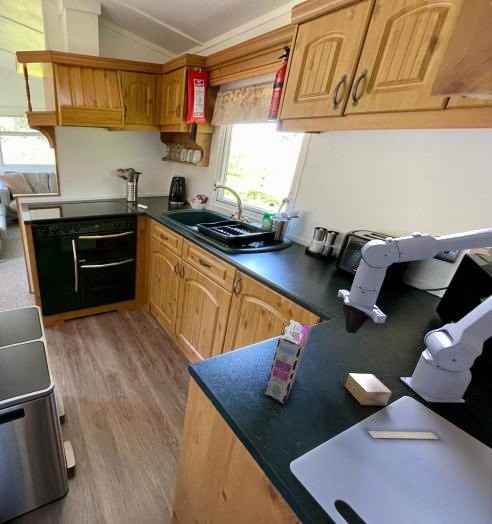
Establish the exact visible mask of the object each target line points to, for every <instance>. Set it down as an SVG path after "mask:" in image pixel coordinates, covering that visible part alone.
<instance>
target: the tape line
mask: <svg viewBox="0 0 492 524" xmlns="http://www.w3.org/2000/svg"><path fill="white" fill-rule="evenodd" d="M367 433H368V434H369V435H370V436H371V437H372V438H373V439H411V440H416V439H418V440H439V437H437V435H435V434H434V433H433V432H429V431H428V432H426V431H425V432H424V431H386V430H385V431H383V430H382V431H381V430H380V431H379V430H368V431H367Z"/></svg>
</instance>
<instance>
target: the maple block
mask: <svg viewBox="0 0 492 524" xmlns="http://www.w3.org/2000/svg"><path fill="white" fill-rule="evenodd" d="M344 387H345V388H346V389H347V390H348V391H349V393H350V394H351V395H352V396H353V397H354V399H356V400H357V402H358V403H359V404H360V405H361V406H387V404H388V403H389V400H390V398H391V396H392V393H393V392H392V391H391V390H390V388H388V387H387V386H386V385H384V383H383V382H382V381H381V380H380V379H378V378H377V377H376V376H375V375H374V374H373V373H348V375H347V378H346V381H345V384H344Z"/></svg>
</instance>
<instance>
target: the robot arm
mask: <svg viewBox="0 0 492 524" xmlns="http://www.w3.org/2000/svg"><path fill="white" fill-rule="evenodd" d="M485 248H492V227H487V228H481V229H476V230H471V231H465V232H459V233H455V234H454V233H453V234H448V235H444V236H439V237H434V236H432V235H430V234H428V233H424V234H421V233H420V232H412V233H411V236H405V237H404V236H403V237H399V238H392V237H386V238H385V241H383V240H380V239H374V240H370V241H368V242H367V243H365V244H364V245H363V246H362V247H361V249H360V254H361V256H362V257H361V258H360V259H361V260H360V261H359V263H358V264H359V265H358V267H357V269H356V272H355V275H354V277H353V278H354V279H353V282H352V285H351V288H350V291H348V290H347V289H346V290H345V289H339V290H338V293H337V297H338V298H342V299H343V303H344V304H343V305H342V310H343V313H344V317H345V331H346V332H347V333H348V334H357V332H358V331H359V330H360V329H361V328H362V326H363V325H364V324H366V323H367V322H368V321H369V320H371V319H373V322H374V323H376V324H385V321H386V319H387V315H386V314H384V313H383V312H382V311H381V310H380V309H379V307H378V306H377V305H376V302H377V300H378V299H377V298H378V296H379V293H380V291H381V288H382V285H383V282H384V279H385V277H386V272H387V269H388V267H389V266H391V265H392V264H393V263H396V264H397V263H405V262H412V261H421V260H430V259H433V258H434V257H436V256H437V254H439V253H442V252H454V251H464V250H474V249H485ZM490 337H492V295H490V296H489V297H488V298H486V299H485V300H484V301H483V302H482V303H480V304H479V305H477V306H476V307H475V308H474V309H473V310H471V311H470V312H469V313H467V314H466V315H465V316H464V317H462V318H461V319H459V321H457V322H454V323H446V324H444V325H443V326H442V327H440V328H438V329H434V330H431V331H429V332H427V333H426V335H425V336H424V341H423V342H424V344H425V345H426V349H425V350H423V351H422V352H421V355H420V357H419V360H418V362H417V364H416V366H415V369H414V370H413V373H412V376H411V377H409V376H408V377H407V376H406V377H405V376H404V377H403V376H401V377H400V380H401V381H402V382H403V383H404V384H405V385H407V387H409V388H410V389H411V390H412V391H414V392H415V393H416V394H417V395H418V396H420V398H422V399H423V400H425V401H426V402H428V403H452V404H453V403H454V404H457V403H458V404H459V403H461V404H464V403H465V402H466V400H464V399H463V396H464V394H465V392H466V391H467V389H468V387H469V385H470V383H471V381H472V372H471V370H470V368H472V367H473V365H474V363H475V361H476V358H478V357H479V356H481V355H482V353H483V348H484V343H485V341H487V340H488V339H489V338H490Z"/></svg>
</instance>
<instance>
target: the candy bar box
mask: <svg viewBox="0 0 492 524" xmlns="http://www.w3.org/2000/svg"><path fill="white" fill-rule="evenodd" d="M311 330H312V326H310V325H308V324H304V323H302V322H300V321H296V320H293V319H290V320H289V322H288V324H287V325H286V326H285V328H284V329H283V331H282V332H281V333H280V335H279V337H278V340H277V345H276V348H275V353H274V355H273V360H272V364H271V368H270V371H269V375H268V379H267V382H266V386H265V391H264V395H265V396H267V397H270V398H271V399H273V400H275V401H277V402H279V403H281V404H283V405H285V404H286V402H287V400H288V397H289V395H290V393H291V391H292V389H293V386H294V384H295V381H296V379H297V376H298V373H299V370H300V366H301V363H302V362H301V361H302V359H303V356H304V352H305V349H306V346H307V342H308V339H309V336H310V333H311Z"/></svg>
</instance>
